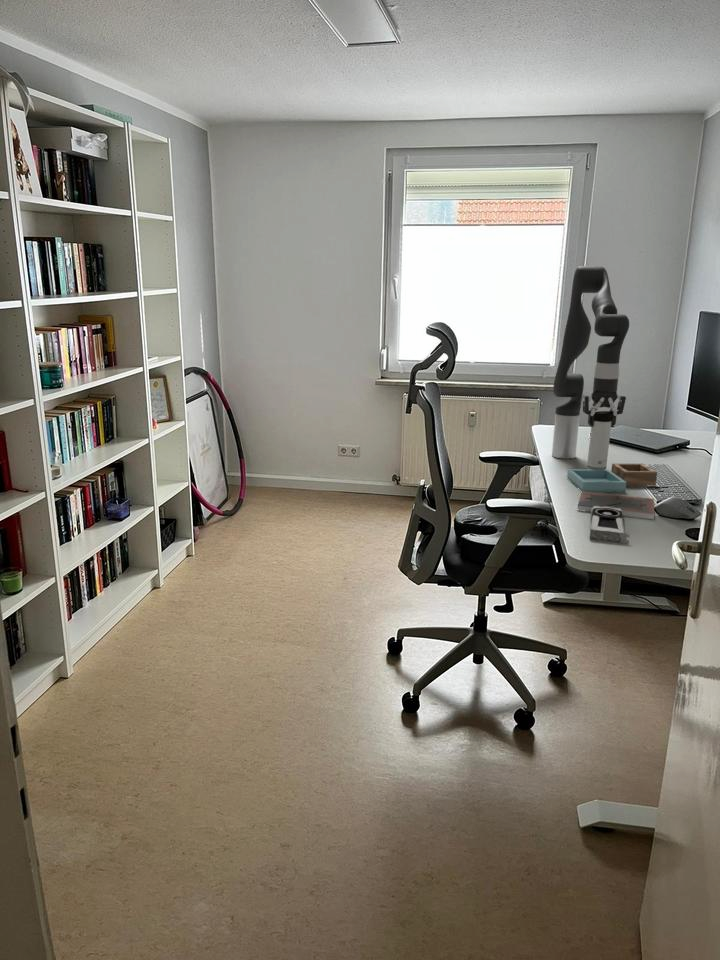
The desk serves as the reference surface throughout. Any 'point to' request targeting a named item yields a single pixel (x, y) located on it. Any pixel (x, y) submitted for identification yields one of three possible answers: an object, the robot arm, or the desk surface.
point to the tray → (596, 481)
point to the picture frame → (618, 504)
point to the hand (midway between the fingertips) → (601, 426)
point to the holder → (635, 474)
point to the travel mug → (599, 440)
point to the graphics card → (607, 524)
